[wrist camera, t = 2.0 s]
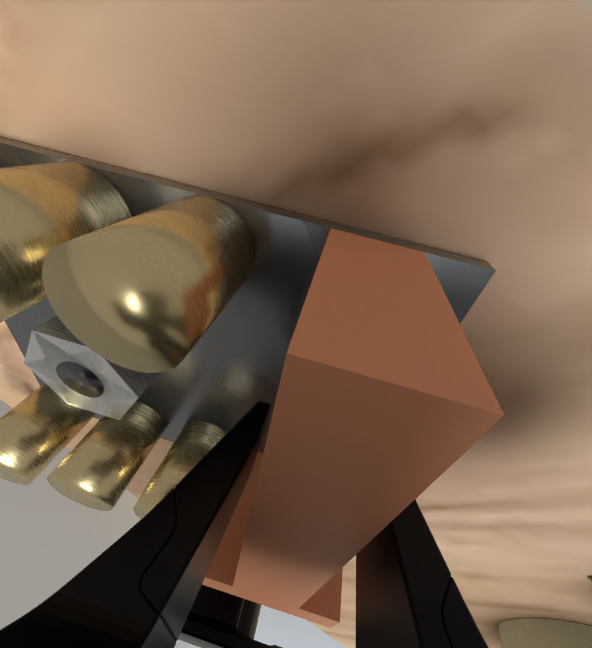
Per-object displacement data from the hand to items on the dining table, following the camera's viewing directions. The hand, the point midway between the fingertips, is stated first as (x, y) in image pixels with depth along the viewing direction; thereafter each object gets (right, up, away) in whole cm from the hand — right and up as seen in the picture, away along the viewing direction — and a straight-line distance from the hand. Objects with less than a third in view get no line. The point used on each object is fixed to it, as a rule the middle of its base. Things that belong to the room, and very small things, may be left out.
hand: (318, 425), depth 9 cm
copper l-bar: (0, 0, +3) cm, 3 cm away
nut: (-8, +2, +3) cm, 9 cm away
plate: (-5, +2, +3) cm, 7 cm away
